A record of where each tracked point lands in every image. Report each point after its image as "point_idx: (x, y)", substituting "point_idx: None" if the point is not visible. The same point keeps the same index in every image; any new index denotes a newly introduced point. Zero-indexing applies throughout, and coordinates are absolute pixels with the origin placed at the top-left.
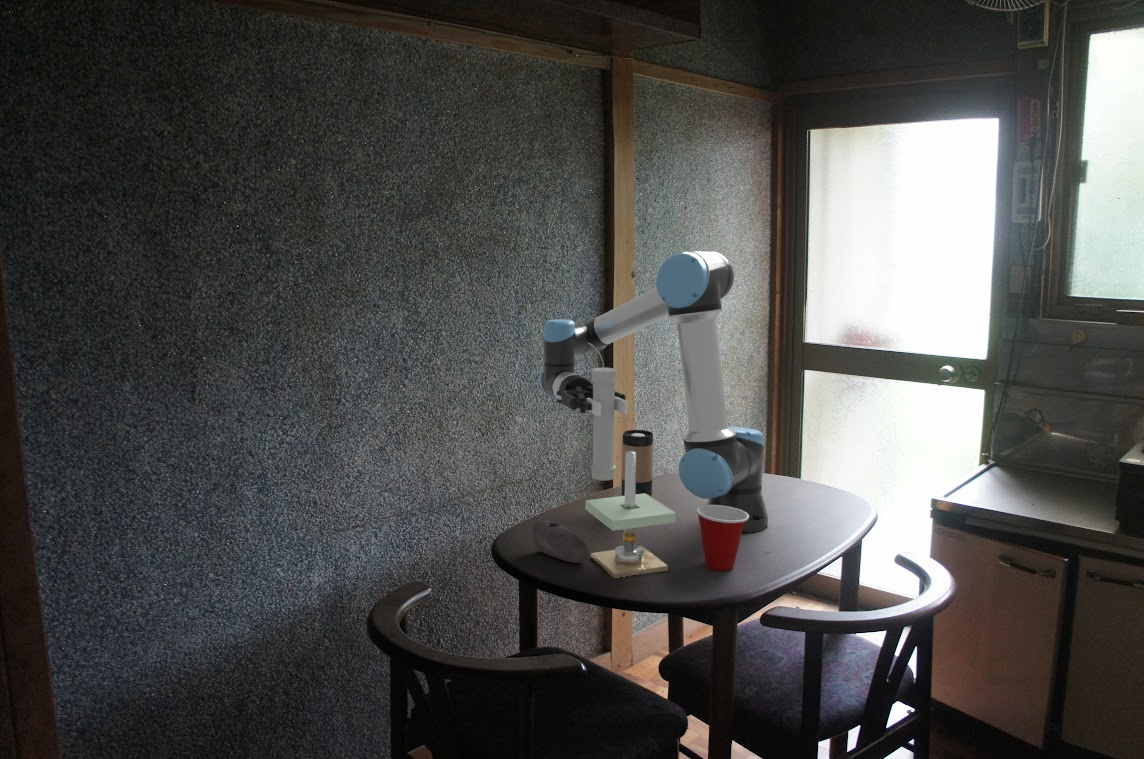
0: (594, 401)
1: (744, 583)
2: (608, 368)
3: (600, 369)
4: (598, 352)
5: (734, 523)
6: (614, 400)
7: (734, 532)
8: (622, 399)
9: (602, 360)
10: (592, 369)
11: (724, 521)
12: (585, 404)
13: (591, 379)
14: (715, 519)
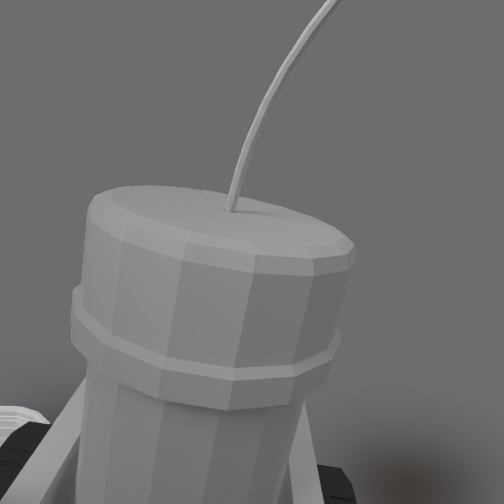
0: (300, 423)
1: None
2: (153, 203)
3: (267, 218)
4: (329, 13)
5: (15, 414)
6: (58, 490)
7: (6, 436)
8: (82, 388)
9: (262, 113)
10: (346, 251)
11: (38, 413)
12: (351, 497)
13: (340, 338)
14: (47, 422)
